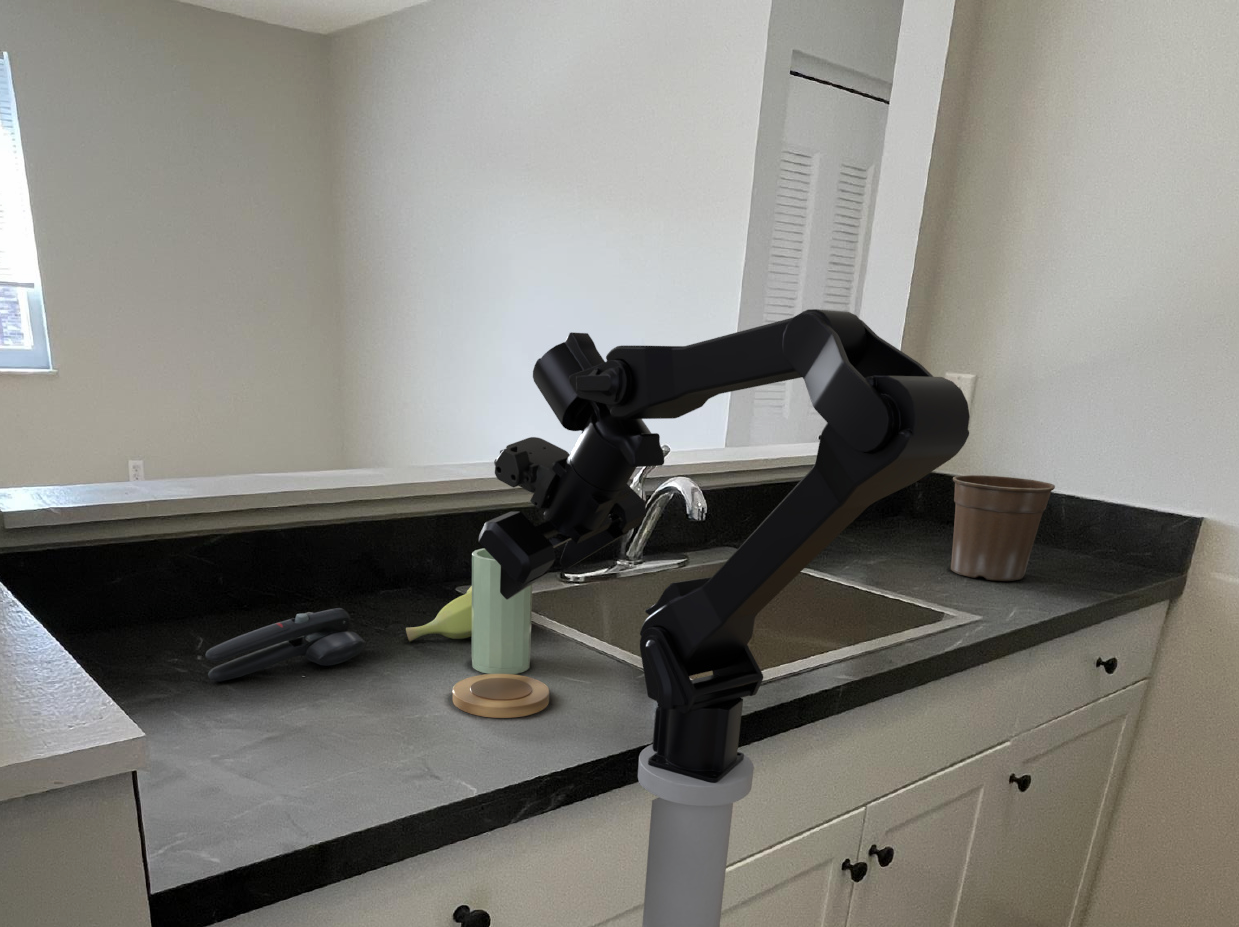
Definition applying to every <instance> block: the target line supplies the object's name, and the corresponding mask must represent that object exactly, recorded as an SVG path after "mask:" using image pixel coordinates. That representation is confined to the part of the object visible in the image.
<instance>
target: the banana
mask: <svg viewBox="0 0 1239 927" xmlns="http://www.w3.org/2000/svg"><path fill="white" fill-rule="evenodd" d="M405 632H406V636H407V639H408V641H409V642H412V641H414V640H416V639H418V638H420V637H422V636H426V635H433V634H434V635H435V634H437V635H441V636H443V637H445V638H448V639H451V640H452V639H453V640H462V639H468V638H470V637H471V638H472V585H471V586H470V587H469V588H468V589H467V591H466V593H465V594H463V595H460V596H458V597H457V598H454V599H453V600H451V601H450V602H449V603H447V604H446V605H444V606H443V607H442V608H441V609H440V610H439V612H438V613H437V615H436V617H435V618H434V619H433V620H431V621H430V622H427V623H426V624H424V625H420V626H414V627H411V626H410V627H406V628H405Z"/></svg>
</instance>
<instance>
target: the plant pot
mask: <svg viewBox="0 0 1239 927" xmlns="http://www.w3.org/2000/svg"><path fill="white" fill-rule="evenodd" d="M952 481H953V483H954V493H953V494H954V496H953V502H954V503H955V509H954V520H953V521H954V522H953V523H954V524H953V525H954V526H953V536H952V550H951V561H950V570H951V571H952V572H954V573H955V574H957V575H960V576H963V577H967V578H968V577H969V578H972V579H977V578H979V577H981V578H985V580H987V581H997V582H998V581H999V582H1013V581H1019V580H1022V579H1023V578H1024V577H1025V575H1026V571H1027V568H1028V564H1029V561H1030V558H1031V554H1032V550H1033V547H1034V543H1035V540H1036V536H1037V533H1038V530H1039V527H1040V523H1041V519H1042V516H1043V514H1044V511H1045V510H1046V509H1047V506H1048V503H1049V500H1050V497H1051V494H1052V491H1054V490H1055V488H1056V485H1055V484H1052V483H1050V482H1045V481H1042V480H1035V479H1029V478H1021V477H1011V476H1001V475H1000V476H999V475H983V474H981V475H980V474H977V475H976V474H968V475H967V474H966V475H955V476H953V477H952Z"/></svg>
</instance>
